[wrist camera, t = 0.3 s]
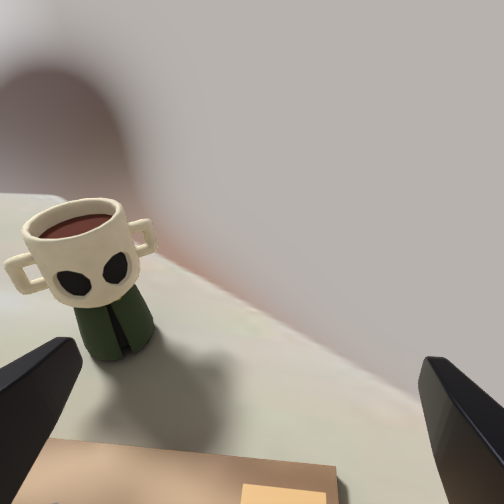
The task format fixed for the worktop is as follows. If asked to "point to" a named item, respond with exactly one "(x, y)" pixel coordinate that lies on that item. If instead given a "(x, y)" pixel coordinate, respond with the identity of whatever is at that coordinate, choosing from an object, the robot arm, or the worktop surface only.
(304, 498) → the block
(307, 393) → the worktop surface
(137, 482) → the board
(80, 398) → the worktop surface
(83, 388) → the worktop surface
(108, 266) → the character mug
